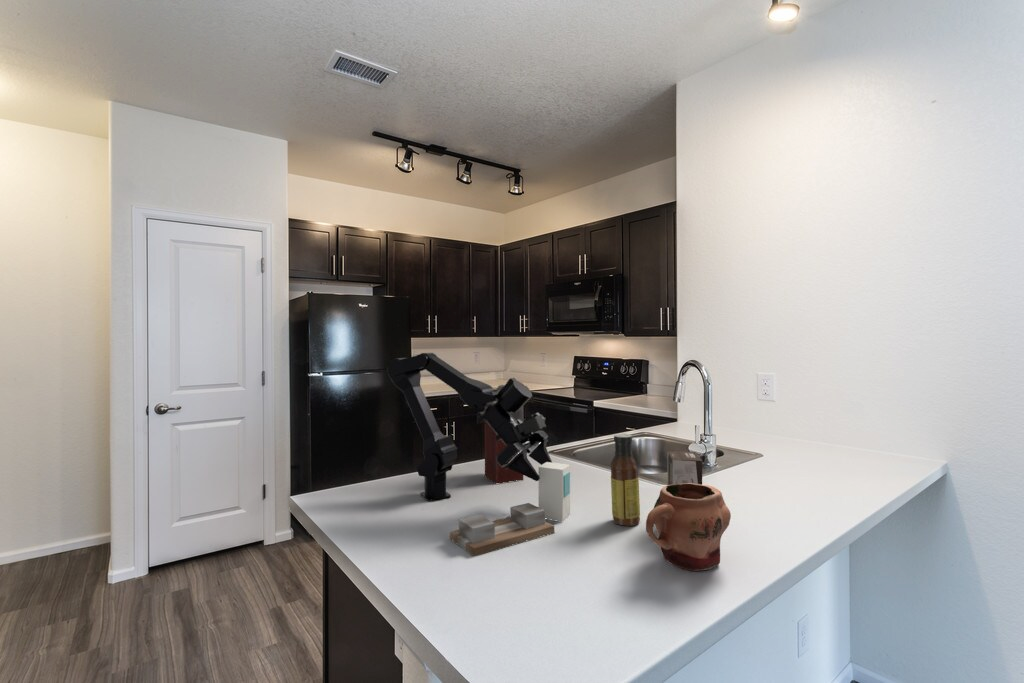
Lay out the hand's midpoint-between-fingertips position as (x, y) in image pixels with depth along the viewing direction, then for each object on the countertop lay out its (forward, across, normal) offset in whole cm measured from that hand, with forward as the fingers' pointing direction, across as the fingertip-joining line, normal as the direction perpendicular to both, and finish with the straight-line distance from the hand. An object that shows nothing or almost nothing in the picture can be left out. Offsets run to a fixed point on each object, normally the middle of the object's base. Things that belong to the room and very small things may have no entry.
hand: (546, 474), depth 118 cm
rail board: (+4, -16, +9) cm, 19 cm away
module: (+8, 0, +5) cm, 10 cm away
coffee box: (+28, +6, -14) cm, 32 cm away
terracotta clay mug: (+30, -12, -16) cm, 36 cm away
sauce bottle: (+20, +4, -6) cm, 21 cm away
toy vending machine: (-10, +24, +24) cm, 35 cm away
